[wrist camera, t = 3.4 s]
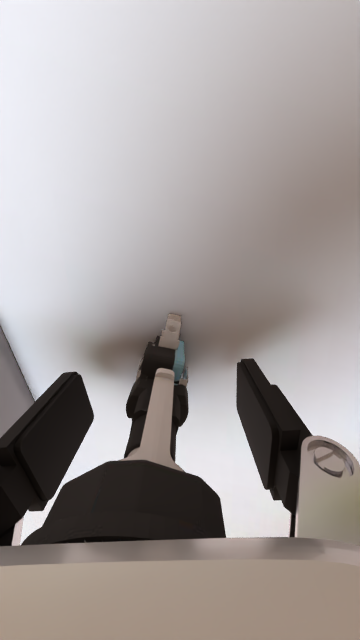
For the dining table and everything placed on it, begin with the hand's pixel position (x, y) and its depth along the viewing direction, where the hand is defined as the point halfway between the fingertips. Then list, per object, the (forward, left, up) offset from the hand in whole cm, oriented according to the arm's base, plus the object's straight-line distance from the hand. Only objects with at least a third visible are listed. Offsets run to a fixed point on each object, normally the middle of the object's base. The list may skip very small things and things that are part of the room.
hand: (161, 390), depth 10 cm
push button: (0, 0, -3) cm, 3 cm away
